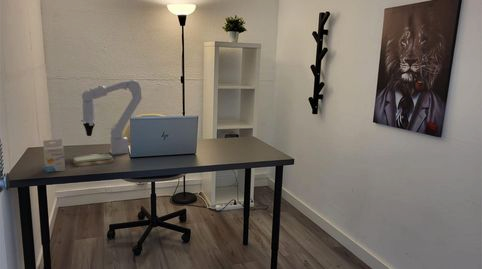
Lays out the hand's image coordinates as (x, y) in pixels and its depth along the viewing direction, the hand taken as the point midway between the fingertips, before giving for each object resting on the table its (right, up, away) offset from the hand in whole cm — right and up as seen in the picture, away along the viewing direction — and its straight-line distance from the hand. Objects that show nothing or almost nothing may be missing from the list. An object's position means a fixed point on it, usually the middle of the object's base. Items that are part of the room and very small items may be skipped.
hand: (89, 135), depth 204 cm
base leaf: (+7, -14, -12) cm, 20 cm away
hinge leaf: (+7, -12, -12) cm, 19 cm away
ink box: (-5, -17, -29) cm, 33 cm away
